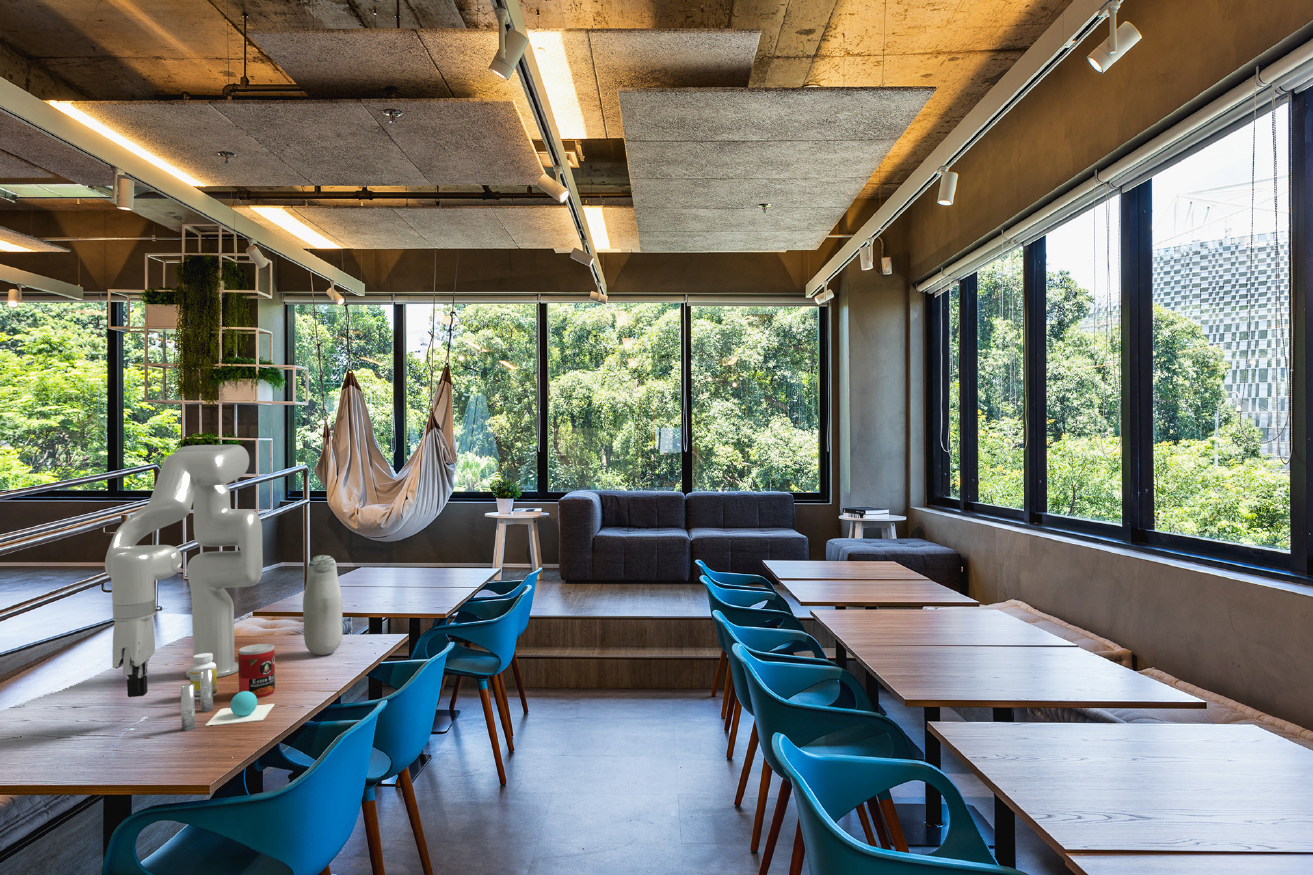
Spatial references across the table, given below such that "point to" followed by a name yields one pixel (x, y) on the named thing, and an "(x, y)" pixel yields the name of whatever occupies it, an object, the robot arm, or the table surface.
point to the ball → (243, 703)
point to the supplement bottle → (199, 663)
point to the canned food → (257, 669)
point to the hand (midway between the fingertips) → (137, 695)
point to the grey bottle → (322, 606)
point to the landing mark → (229, 717)
